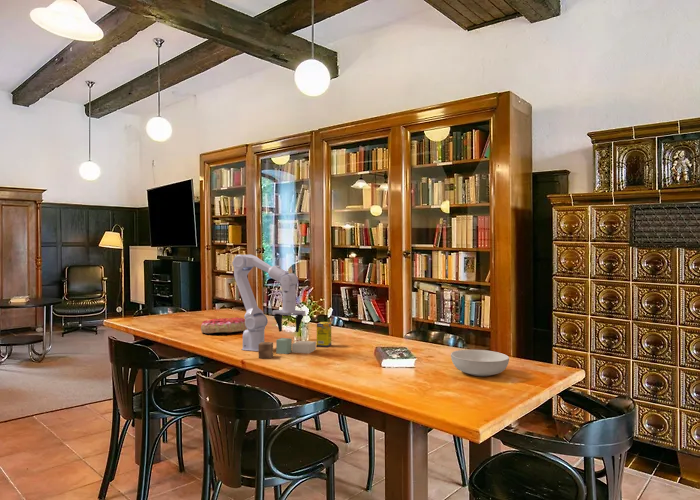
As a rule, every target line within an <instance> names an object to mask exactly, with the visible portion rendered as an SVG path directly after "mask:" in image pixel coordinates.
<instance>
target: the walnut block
mask: <svg viewBox="0 0 700 500" xmlns="http://www.w3.org/2000/svg"><path fill="white" fill-rule="evenodd" d="M273 357H274V342H273V341H270V342H269V341H264V342H261V343H260V344H259V351H258V359H262V360H264V359H268V360H269V359H272V358H273Z"/></svg>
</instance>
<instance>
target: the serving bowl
mask: <svg viewBox="0 0 700 500" xmlns="http://www.w3.org/2000/svg"><path fill="white" fill-rule="evenodd" d="M450 357H451V362H452V364H453V365H454V367H455V368H456V369H457V370H459V371H461V372H463V373H465V374H468V375H470V376H476V377H489V376H494V375H498V374H501V373H502V372H504V371H505V370H506V369H507V367H508V365H509V361H510V357H509V356H508V355H507V354H504V353H501V352H498V351H492V350H487V349H459V350H455V351H452V352H451V353H450Z"/></svg>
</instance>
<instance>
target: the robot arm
mask: <svg viewBox="0 0 700 500" xmlns="http://www.w3.org/2000/svg"><path fill="white" fill-rule="evenodd" d="M231 263H232V266H233V276H234V277H233V278H234V280H235V284H236V286H237V288H238V291H239V294H240V297H241V300H242V302H243V305H244V309H245V311H246V312H245V314H244V317H243V318H244V319H245V326H246V328H247V330H245V331H243V332H242V349H241V351H250V352H251V351H252V352H259V344H260V343H261V342H265V329H266V327H267V325H268V318H267V316H266V315H265V313H264V311H263V310H262V309H261V308H259V306H258V303H257V301H256V298H255V295H254V292H253V290H252V286H251V284H250V281H249V278H248V276H249V275H248V274H249V273H250V272H251V271H252V270H253V268H254V267H255V268H257V269H259V270H261V271H263V272H265V273H268V277H269V278H271V279H273V280H275V281H276V282H278V283H280V286H281V287H282V288H281V289H282V309H274V310H272V316H274V319H275V322H276V324H277V327H278V332H282V331H283V327H282V326H283V323H282V322H283V316H295V317H294V318H295V333H298V332H299V331H300V326H301V323H302V321H303V318H304V317H305V316H306V310H297V309H296V297H297V295H296V291H297V289H296V287H297V286H296V285H298V282H299V277H298V276H297V274H295V273H293V272H291V273H289V271H288V270H284V268H283V269H282V268H281V265H273V266H272V265H270V264H269V263H268V262H266V261H264V260H262V259H261V258H259V257H258V256H256V255H254V254H250V253H249V254H239V253H238V254H236V255H235V256H234V257H233V260H232V262H231Z"/></svg>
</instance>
